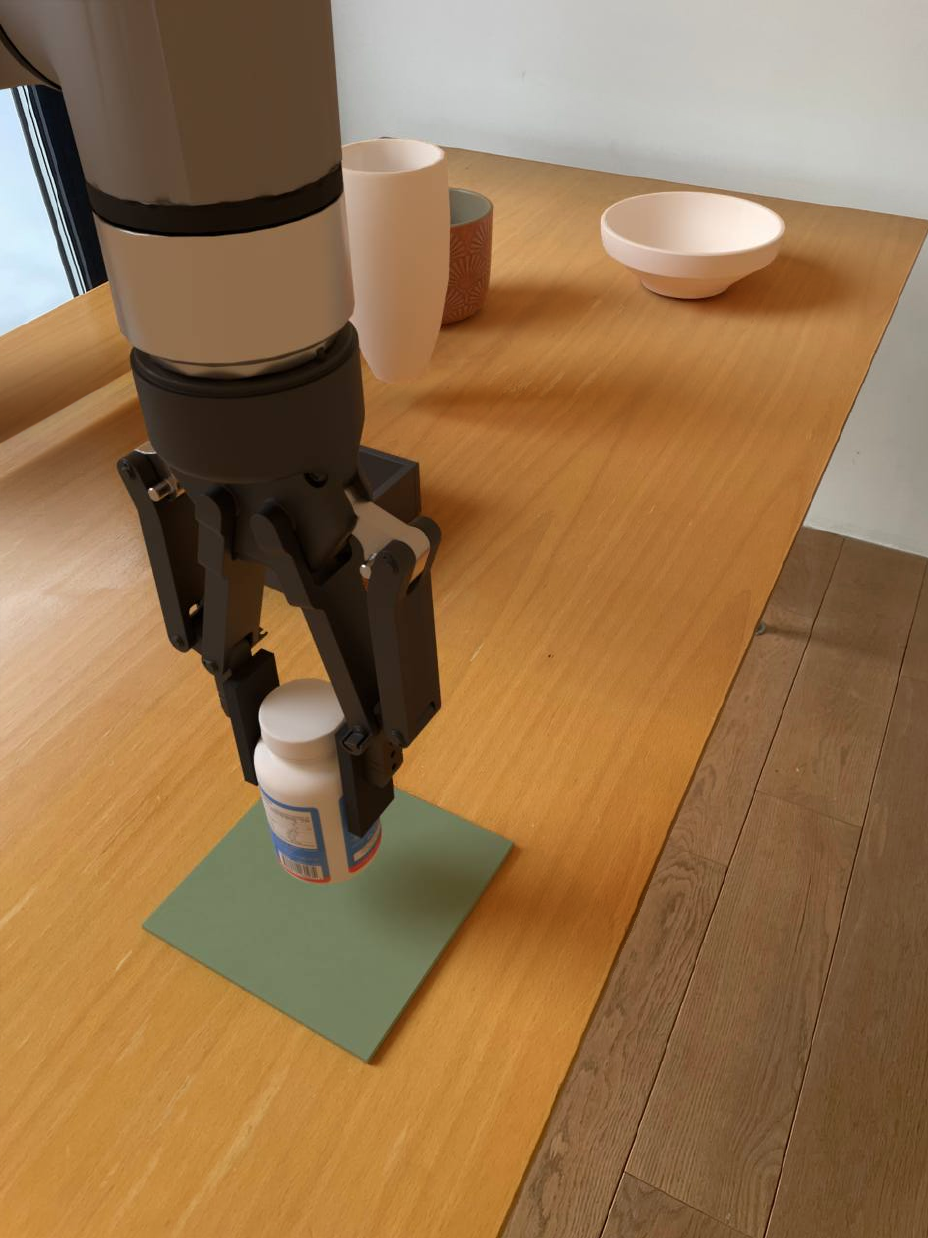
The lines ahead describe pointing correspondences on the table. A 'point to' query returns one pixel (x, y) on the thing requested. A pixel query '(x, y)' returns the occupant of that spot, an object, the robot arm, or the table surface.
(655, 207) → the bowl
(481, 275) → the planter
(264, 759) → the pill bottle
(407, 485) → the frame
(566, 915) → the table surface
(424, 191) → the cup
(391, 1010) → the mat
